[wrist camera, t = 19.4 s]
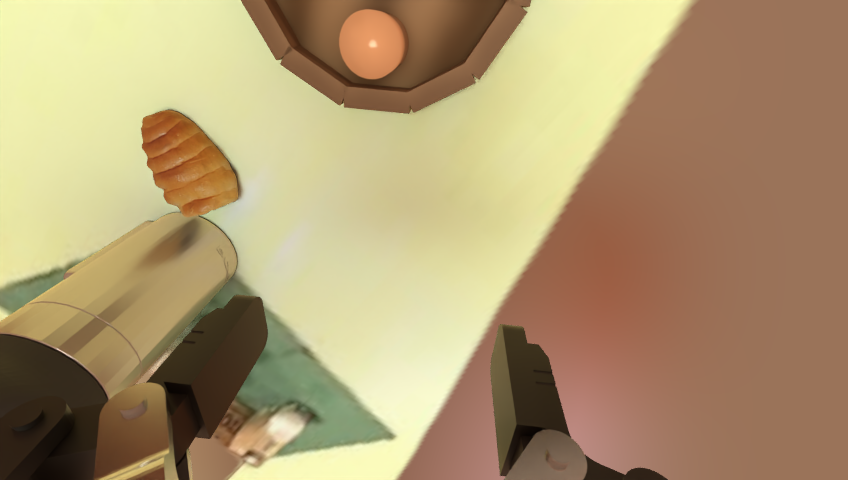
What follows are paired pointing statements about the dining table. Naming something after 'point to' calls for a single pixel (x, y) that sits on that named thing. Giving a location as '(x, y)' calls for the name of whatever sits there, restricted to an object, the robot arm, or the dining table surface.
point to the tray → (427, 54)
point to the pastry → (187, 164)
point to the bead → (373, 43)
